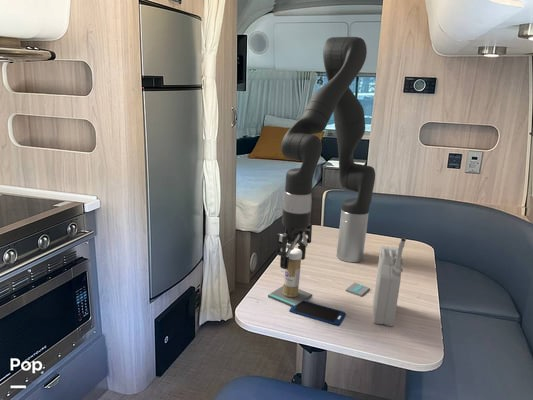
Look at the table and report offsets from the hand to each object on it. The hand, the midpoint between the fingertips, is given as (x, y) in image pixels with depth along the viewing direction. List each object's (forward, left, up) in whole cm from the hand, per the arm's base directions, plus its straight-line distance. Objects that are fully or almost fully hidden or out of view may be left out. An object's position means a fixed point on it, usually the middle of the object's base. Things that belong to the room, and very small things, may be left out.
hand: (292, 263), depth 121 cm
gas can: (-8, +25, -10) cm, 28 cm away
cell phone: (+2, +10, -11) cm, 15 cm away
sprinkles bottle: (0, 0, -10) cm, 10 cm away
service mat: (0, 0, -10) cm, 10 cm away
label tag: (-17, +13, -10) cm, 24 cm away
